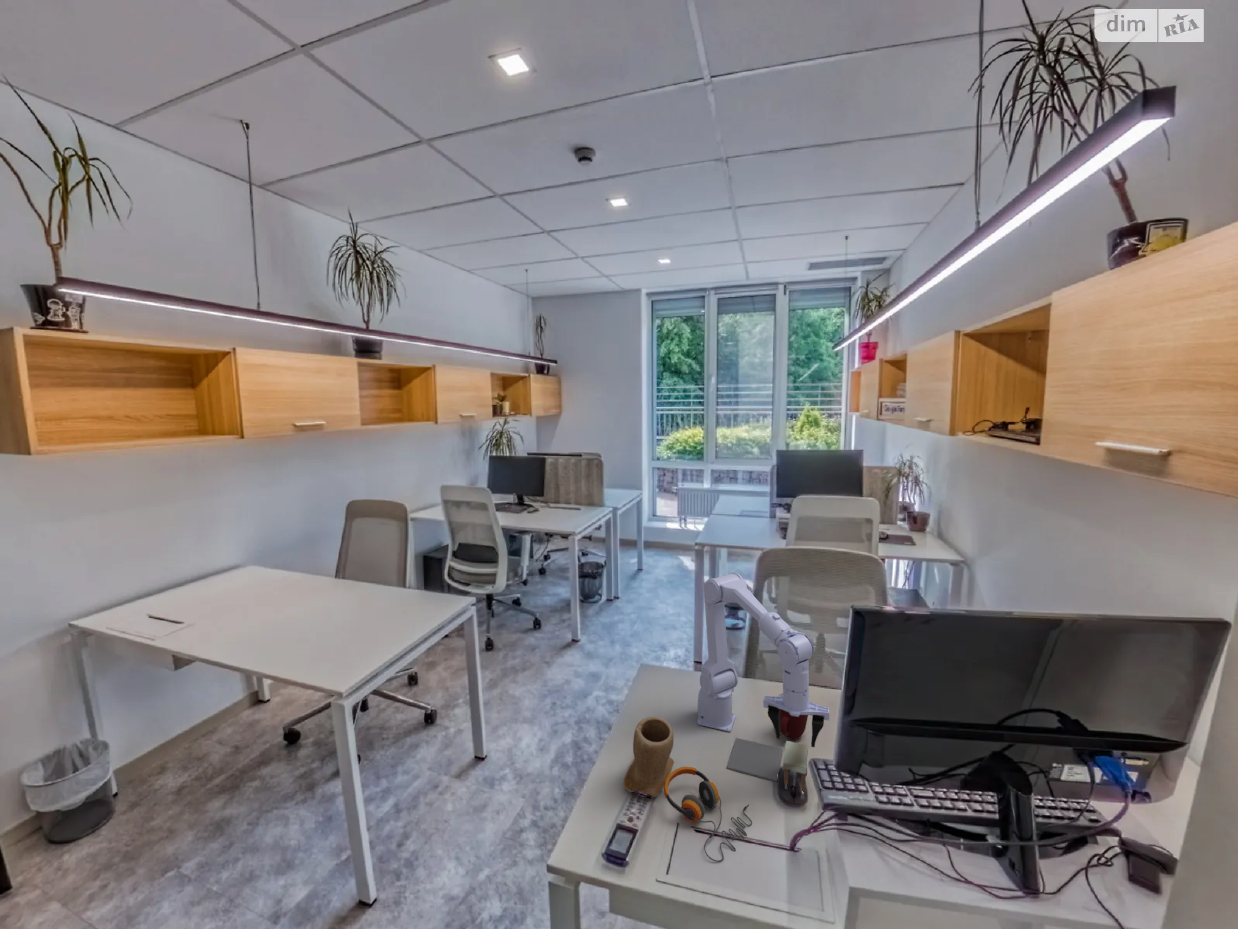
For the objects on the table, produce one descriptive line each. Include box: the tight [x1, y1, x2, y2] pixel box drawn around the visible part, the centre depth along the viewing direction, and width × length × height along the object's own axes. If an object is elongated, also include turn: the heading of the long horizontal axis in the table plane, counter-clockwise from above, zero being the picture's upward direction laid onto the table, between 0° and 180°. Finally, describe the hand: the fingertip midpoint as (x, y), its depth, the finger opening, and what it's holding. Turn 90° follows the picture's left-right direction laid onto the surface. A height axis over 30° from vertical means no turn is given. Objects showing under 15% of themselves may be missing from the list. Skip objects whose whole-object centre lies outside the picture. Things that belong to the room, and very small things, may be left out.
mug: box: [778, 692, 809, 741], centre depth 131 cm, size 10×8×10 cm
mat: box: [726, 737, 784, 783], centre depth 123 cm, size 12×12×1 cm
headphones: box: [663, 766, 753, 863], centre depth 107 cm, size 17×5×20 cm
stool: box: [782, 740, 809, 795], centre depth 115 cm, size 5×8×7 cm, turn 156°
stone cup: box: [622, 716, 675, 798], centre depth 117 cm, size 15×12×15 cm
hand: (795, 740), depth 115 cm, fingers open, 7 cm apart
